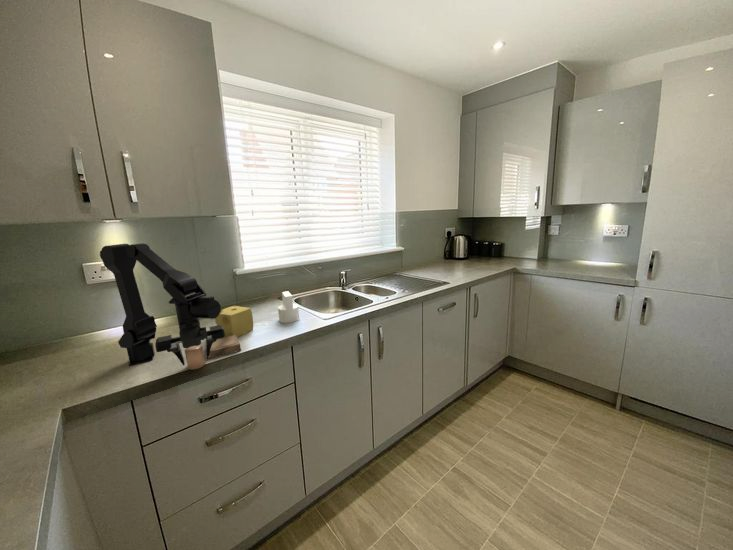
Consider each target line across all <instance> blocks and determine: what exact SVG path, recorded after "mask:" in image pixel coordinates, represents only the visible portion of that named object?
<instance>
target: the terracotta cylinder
mask: <svg viewBox="0 0 733 550" xmlns="http://www.w3.org/2000/svg"><path fill="white" fill-rule="evenodd" d="M184 355H185V359H186V365H187V369H188V368H189V369H188V370H192V371H193V370H197V369H200V368H202V367H204V366H205V365H206V360H205V354H204V347H203V345H202V344H200V345H198V346H192V347H189V348H184Z"/></svg>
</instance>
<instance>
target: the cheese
mask: <svg viewBox="0 0 733 550" xmlns="http://www.w3.org/2000/svg"><path fill="white" fill-rule="evenodd" d="M253 316H254V315H253V312H252V309H251V308H250V307H246V306H238V305H233V306H228V307H226V308H224V309H221V311H220V314H219V315H218V317H217V318H215V319H214V323H215V324H216V326H217V325H222V326H223V328H224V333H225V337H227V336H232V335H236V336H237V338H238V337H241V336H243V335H245V334H246V333H249V332H250V331H253V330H254V319H253V318H254V317H253Z"/></svg>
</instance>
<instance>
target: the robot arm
mask: <svg viewBox="0 0 733 550" xmlns="http://www.w3.org/2000/svg"><path fill="white" fill-rule="evenodd" d="M99 257H100V259H101V261H102V264H103V265H104V267H105V268H106V269H107V270H109V271H110V272H111V273H112V274H113V277H114V280H115V283H116V287H117V290H118V293H119V297H120V300H121V303H122V307H123V310H124V313H125V314H124V315H125V319H124V321H123V325H122V329H123V334H122V335H121V337H120V338H119V340H117V343H118V345H119V346H120V348H122V349H126V351H127V356H128V361H129V362H128V366H133V365H137V364H142V363H146V362H149V361H153V360H154V357H155V356H156V355H155V354H156V353H161V352H166V351H167V353H173V354H174V355H175V356H176V357H177V359H178V360H179V362H180V363H181V364H182V366H186V364H185V359H184V355H183V352H182V348H183V349H186V348H189V347H192V346H198V345H202V341H204V340H205V357H206V361H207V360H209V359H210V357H209V353H210V349H211V346H212V344H213V342H215V341H217V339H219V338H224V337H225V333H224V328H223V326H222V325H217V324H216V325H213V326H209V330H207V327H206V326H203V327H201V322H200V319H207V320H208V319H210V320H211V319H212V320H215V318H217V317H218V315H219V314H220V312H221V310H222V307H221V304H220V303H219V301H218V300H216V299H215V296H214V295H208V296H207V293H206V291H205V290H204V289H203V288H202V286H201V285H200V284H199V282H198V281H197V280H196V278H195V277H193V276H192V275H190V274H189V273H187V272H184V271H182V270H178V269H176V268H174V267H173V266H171V265H170V264H169V263H168V262H167V261H165V260H164V259H163V258H162V257H161V256H159V255H158V254H157V253H155V252H154V251H153V250H152V249H151V248H150V246H149V244H147V243H145V242H144V243H132V244H129V243H119V244H108V245H104V246H102V248H101V250H100V251H99ZM137 262H138V263H139V264H140V265H142V266H143V267H144V268H145V269H146V270H148V271H149V272H150V273H152V274H153V275H154V276H155V277H156V278H158V280H160V281H161V282H162V286H163V289H164V290H165V291H166V292H167V294H169V296H170V297H172V298H171V299H170V300H169V301H168V304H172V305H174V308H175V313H176V319H177V323H178V330H179V332H178V334H179V336H177V337H172V334H169V335H164V336H163V335H162V336H159V337H157V339H156V340H155V343H153V342H151V340H153V339H155V338H156V332H157V327H158V325H157V323H156V319H155V317H154V315H149V314H148V313H146V311H145V308H144V304H143V302H142V301H143V300H142V296H141V294H140V290H139V286H138V283H137V280H136V277H135V273H134V269H135V267H136V265H137ZM180 344H181V345H182V348H181V346H180ZM154 345H155V347H154ZM155 350H156V352H155Z"/></svg>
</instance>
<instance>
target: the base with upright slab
mask: <svg viewBox="0 0 733 550" xmlns="http://www.w3.org/2000/svg"><path fill="white" fill-rule="evenodd" d="M281 297H282V304H281V305H279V306H278V307H277V313H278V321H279V322H280V323H282V324H283V323H284V324H285V323H286V324H289V323H294V322H297V321H299V320H300V312H299V311H300V309H299V305H298V304H297V303H294V302H293V300H294V299H293V295H292V294H291V292H289V290H288V291H283V292H281Z"/></svg>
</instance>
